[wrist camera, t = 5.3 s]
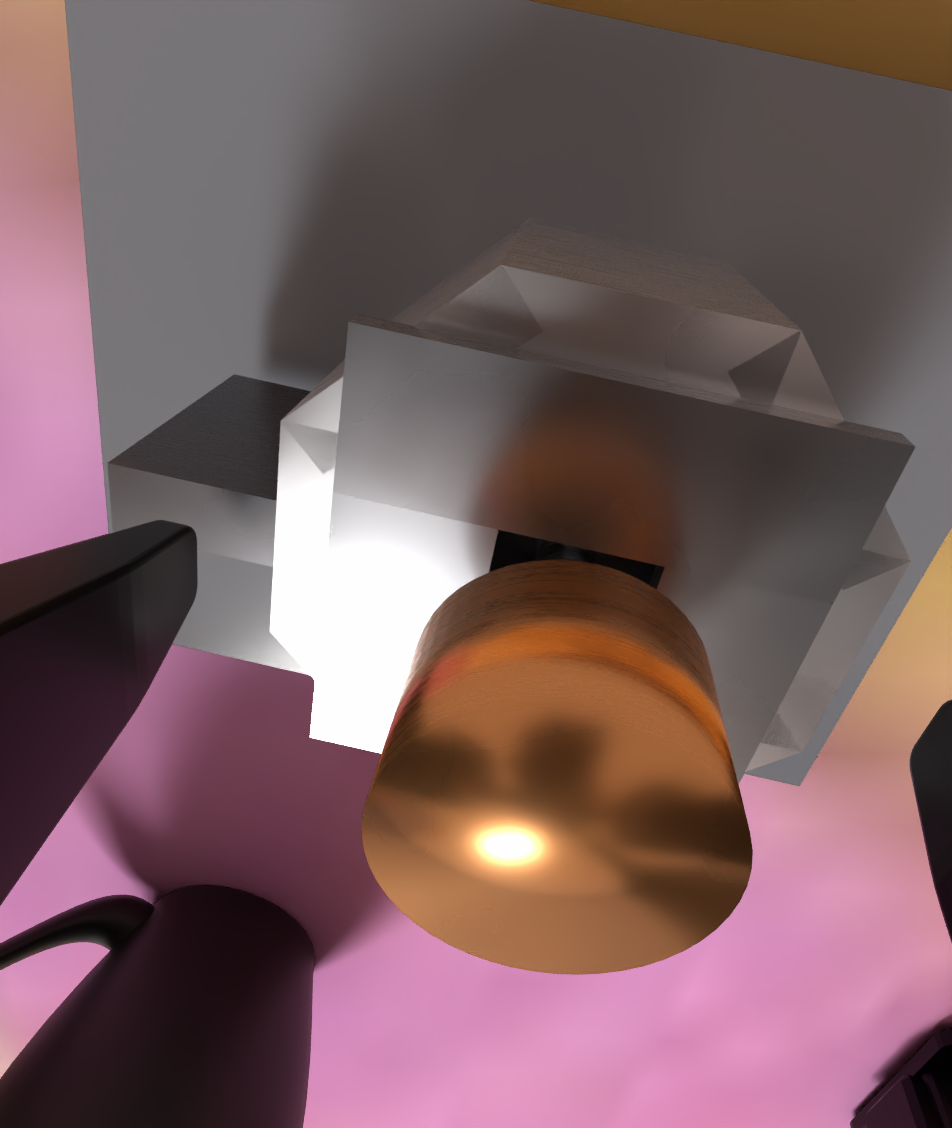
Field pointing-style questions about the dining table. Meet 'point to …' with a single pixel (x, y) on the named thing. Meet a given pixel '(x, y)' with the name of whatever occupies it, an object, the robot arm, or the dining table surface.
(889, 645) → the dining table surface
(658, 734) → the plunger
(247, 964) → the mug
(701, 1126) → the dining table surface
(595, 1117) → the dining table surface
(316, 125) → the slate board
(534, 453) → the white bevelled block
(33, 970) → the dining table surface
